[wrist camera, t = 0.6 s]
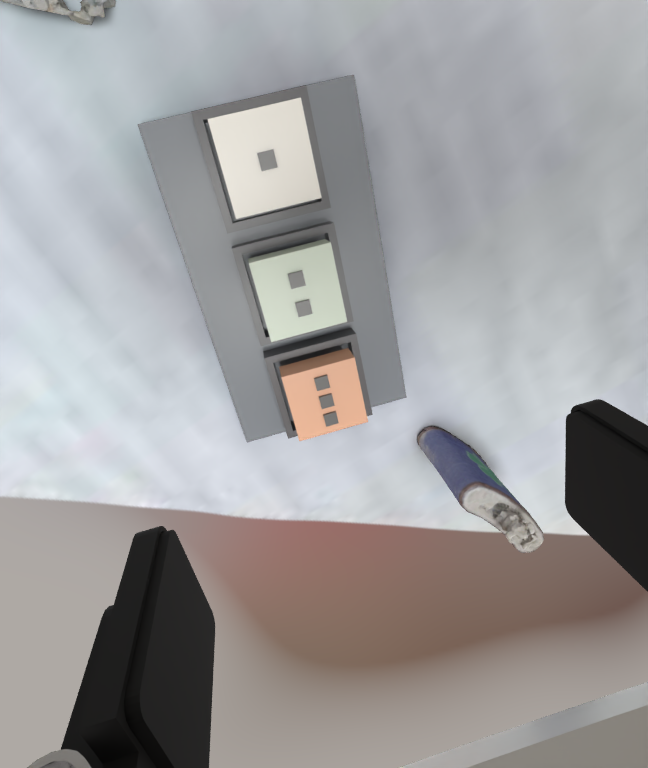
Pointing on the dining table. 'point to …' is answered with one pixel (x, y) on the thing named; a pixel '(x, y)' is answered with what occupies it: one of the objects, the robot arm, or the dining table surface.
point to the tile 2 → (298, 289)
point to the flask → (479, 488)
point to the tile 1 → (266, 157)
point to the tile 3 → (324, 393)
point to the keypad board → (274, 233)
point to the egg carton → (91, 7)
